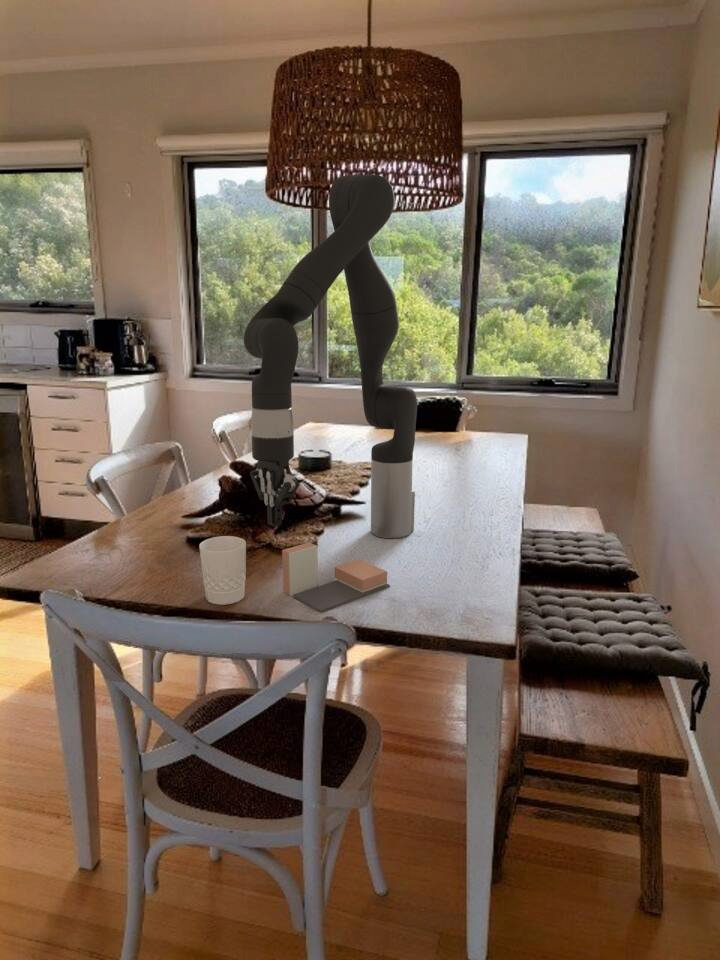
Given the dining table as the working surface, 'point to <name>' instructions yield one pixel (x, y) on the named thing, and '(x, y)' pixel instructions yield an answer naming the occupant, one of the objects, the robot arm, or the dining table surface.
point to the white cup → (223, 569)
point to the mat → (332, 595)
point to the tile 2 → (360, 575)
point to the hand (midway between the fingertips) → (274, 524)
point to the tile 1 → (300, 568)
